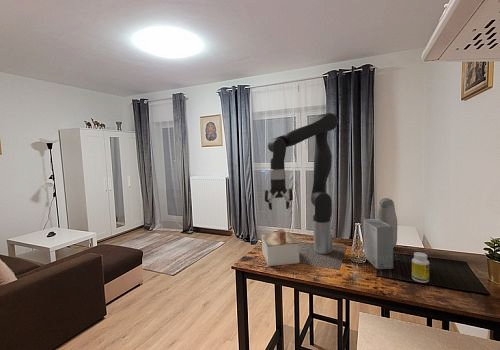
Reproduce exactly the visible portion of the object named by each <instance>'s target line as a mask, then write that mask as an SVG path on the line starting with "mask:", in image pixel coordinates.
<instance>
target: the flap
mask: <svg viewBox="0 0 500 350" xmlns="http://www.w3.org/2000/svg"><path fill="white" fill-rule="evenodd" d="M262 237H263V239H264V241H265V243H266V245H267V247H268V246H279V245H289V244H299V243H300V242H299V241H298V240H297V239H296V238H295V237H294V235H293V234H292V233H291V232H290V231H286V230H284V229H283V228H280V229H277V232H272V233H262V234H261V238H262Z"/></svg>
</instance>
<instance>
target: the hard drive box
mask: <svg viewBox="0 0 500 350" xmlns="http://www.w3.org/2000/svg"><path fill="white" fill-rule="evenodd" d="M364 254H365V257H366V258H365V257H364V258H365V259H366V260H367V261H368V262H369V263H370V264H372V266H373V267H374V268H375V269H376V270H392V269H394V248H393V227H392V226H391V225H389V224H387V223H385V222H383V221H381V220H379V219H377V218H364V219H363V255H364Z"/></svg>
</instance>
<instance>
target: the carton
mask: <svg viewBox="0 0 500 350" xmlns="http://www.w3.org/2000/svg"><path fill="white" fill-rule="evenodd" d="M261 251H262V254H263V258H264V260H265V262H266V263H267V266H268V267H272V266H282V265H283V266H284V265H293V264H300V245H299V244H289V245H279V246H268V247H267V245H266V243H265V241H264V239H263V237H262V236H261Z"/></svg>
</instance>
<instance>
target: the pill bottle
mask: <svg viewBox="0 0 500 350" xmlns="http://www.w3.org/2000/svg"><path fill="white" fill-rule="evenodd" d="M411 279H412V280H413V281H415V282H418V283H423V284H425V283H429V281H430V261H429V260H428V254H427V253H424V252H419V251H418V252H417V251H416V252H413V258H412V259H411Z"/></svg>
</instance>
